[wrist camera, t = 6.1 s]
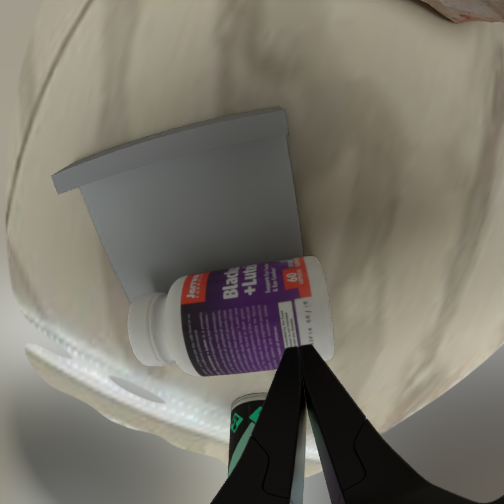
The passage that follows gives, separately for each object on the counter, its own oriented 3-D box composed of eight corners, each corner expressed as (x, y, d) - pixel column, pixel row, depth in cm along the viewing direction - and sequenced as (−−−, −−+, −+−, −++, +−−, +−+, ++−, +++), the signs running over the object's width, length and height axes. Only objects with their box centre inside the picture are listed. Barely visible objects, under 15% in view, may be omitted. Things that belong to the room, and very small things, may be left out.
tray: (279, 106, 13) (284, 110, 11) (310, 319, 19) (315, 346, 17) (73, 162, 14) (50, 176, 12) (152, 339, 21) (145, 363, 19)
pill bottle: (326, 258, 12) (109, 292, 13) (340, 377, 12) (138, 396, 13) (312, 250, 18) (153, 276, 18) (324, 338, 18) (171, 357, 19)
